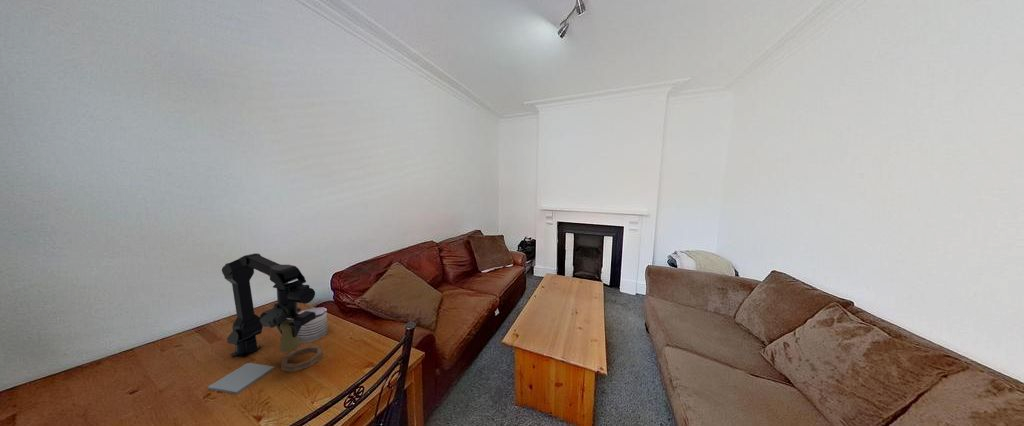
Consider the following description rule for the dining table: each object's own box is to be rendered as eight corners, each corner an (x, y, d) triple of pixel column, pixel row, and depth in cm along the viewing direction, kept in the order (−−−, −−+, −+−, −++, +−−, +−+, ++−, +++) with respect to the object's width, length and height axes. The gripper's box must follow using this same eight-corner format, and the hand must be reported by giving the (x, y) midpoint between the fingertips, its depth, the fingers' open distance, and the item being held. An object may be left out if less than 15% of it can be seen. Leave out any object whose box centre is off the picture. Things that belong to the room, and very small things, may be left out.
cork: (288, 352, 95) (286, 326, 94) (275, 350, 96) (273, 323, 95) (303, 343, 101) (302, 318, 100) (291, 340, 102) (290, 315, 101)
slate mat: (207, 389, 86) (207, 386, 86) (248, 364, 98) (247, 362, 98) (236, 394, 84) (236, 391, 84) (274, 368, 96) (274, 366, 96)
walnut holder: (273, 368, 96) (273, 364, 96) (303, 348, 108) (303, 344, 108) (301, 373, 95) (301, 368, 94) (329, 351, 107) (329, 347, 107)
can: (291, 344, 111) (289, 318, 109) (305, 329, 122) (304, 306, 120) (320, 341, 113) (319, 316, 112) (331, 327, 124) (331, 304, 123)
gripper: (242, 306, 89) (244, 346, 91) (287, 311, 87) (290, 352, 89) (274, 293, 100) (276, 328, 102) (316, 297, 98) (317, 334, 100)
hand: (289, 336), depth 98 cm, fingers closed on cork, 4 cm apart
